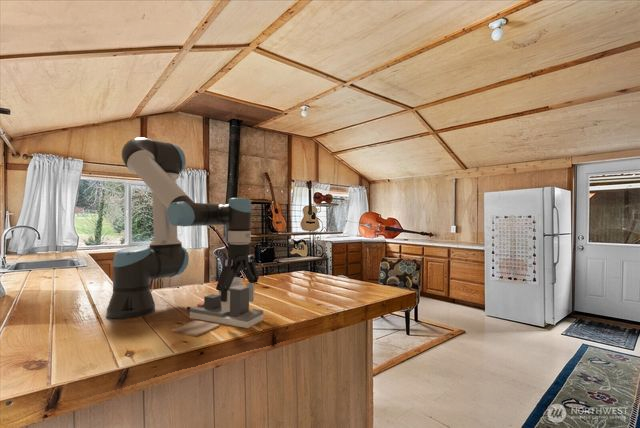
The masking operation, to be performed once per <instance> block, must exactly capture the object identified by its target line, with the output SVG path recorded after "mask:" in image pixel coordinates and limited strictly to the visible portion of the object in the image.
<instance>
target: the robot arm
mask: <svg viewBox="0 0 640 428" xmlns="http://www.w3.org/2000/svg"><path fill="white" fill-rule="evenodd" d="M121 159H122V162H123V164H124V165H125V167H126V168H127V169H128V170H129V171H130V172H132V173H133V174H135V175H136V174H137V176H138V177H139V178H140V179H141V180H142V182H144V184H145V185H146V187H148V188H149V190H151V192H152V218H153V219H152V221H153V222H152V225H153V240H152V241H151V243H149V246H147V245H138V246H130V247H125V248H121V249H119V250H117V251H116V252H115V253H114V255H113V261H112V270H113V271H112V295H111V296H110V299H109V302H108V305H107V308H106V317H108V318H110V319H116V320H118V319H120V320H121V319H123V320H124V319H133V318H139V317H144V316H146V315H149V314H152V313H154V312H155V311H156V303H155V301H154V297H153V295H152V292H151V281H153V280H159V279H164V278H173V277H176V276H179V275H181V274H183V273H184V271H185V270H187V267H188V264H189V258H190V257H189V252H188V251H187V249H186V248H185V247H184V246H182V245H183V244H182V241H181V240H179V238H178V227H198V226H199V227H200V226H226V227H227V226H228V227H227V228H228V229H227V230H228V232H227V243H229V244H228V245H227V255H228V256H229V257H230V258H229V259H223V260H222V261H223V262H222V268H221V272H220V273H219V277H218V280H217V281H218V282H217V284H216V287H215V290H216V291H217V292H218V291H221V301H222V311H225V312H230V291H228V290H229V288H230V286H231V283H232V281H233V279H234V277H236V275H237V274H239V272H241V271H242V273H243V274H244V276H245V278H246V279H247V282H246V286H247V287H248V288H249V302H255V287H256V286H255V285H256V284H257V283H258V280H259V278H260V277H259V274H258V271H257V267H256V264H255V257H254V255H251V252H252V251H251V250H252V244H251V240H252V239H251V238H252V236H251V235H252V234H251V233H252V232H251V231H252V226H251V225H252V212H253V211H252V200H251V199H250V198H246V197H230V198H229V199H228V203H205V202H194V200H192V198H191V197H190V196H189V195H187V193H186V192H185V191H184V190H183V189H182V188H181V187H180V186H179V184H177V183H176V181H177V179H179V177H180V176H181V175H180V173H182V172H183V171H184V169H185V168H184V167H186V155H185V153H184V151H183V149H182V148H181V147H180V146H178V145H176V144H173V143H170V142H165V141H160V140H157V139H151V138H148V137H147V138H146V137H135V138H131V139H129V140H128V141H126V143H125V144H124V145H123V147H122V149H121ZM220 286H221V287H220Z"/></svg>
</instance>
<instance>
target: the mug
mask: <svg viewBox="0 0 640 428" xmlns="http://www.w3.org/2000/svg"><path fill="white" fill-rule="evenodd" d="M237 285H239V286H243V278H241V277H237V276H235V277H234V279H233V281H232V283H231V286H230V288H231V287H234V286H237ZM220 287H221V286H220ZM217 295H221V291H218V290H217ZM221 304H222V301H221Z"/></svg>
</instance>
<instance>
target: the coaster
mask: <svg viewBox="0 0 640 428" xmlns="http://www.w3.org/2000/svg"><path fill="white" fill-rule="evenodd" d="M220 326H221V323H215V322H210V321H204V320H199V319H195V320H192V321H191V322H190V321H189V322H188V323H185V324H183V325H180V326H177V327H175V328H172V329H171V333H174V334H175V333H176V334H182V335H186V336H189V337H190V336H191V337H196V338H197V337H200V336H201V335H204V334H207V333H209V332H210V331H213V330H215V329H217V328H219V327H220Z"/></svg>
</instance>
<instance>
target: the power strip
mask: <svg viewBox="0 0 640 428" xmlns="http://www.w3.org/2000/svg"><path fill="white" fill-rule="evenodd" d="M203 299H204V300H203V301H202V302H200V303H197V304H196V305H195V306H193V307H191V308H190V310H189V318H190V319H195V320H199V321H204V322H210V323H215V324H221V325H228V326H234V327H239V328H245V329H249V328H250V327H252V325H253V326H255V325H257V324H258V323H260V322H263V320H264V310H262V309H255V308H253V309H251V310H249V312H246V313H244V314H242V315H240V316H238V318H236V317H230V316H228V312H225V311H222V304H221V295H218V294H214V293H211V294H209V295H205V296H204V297H203Z"/></svg>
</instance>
